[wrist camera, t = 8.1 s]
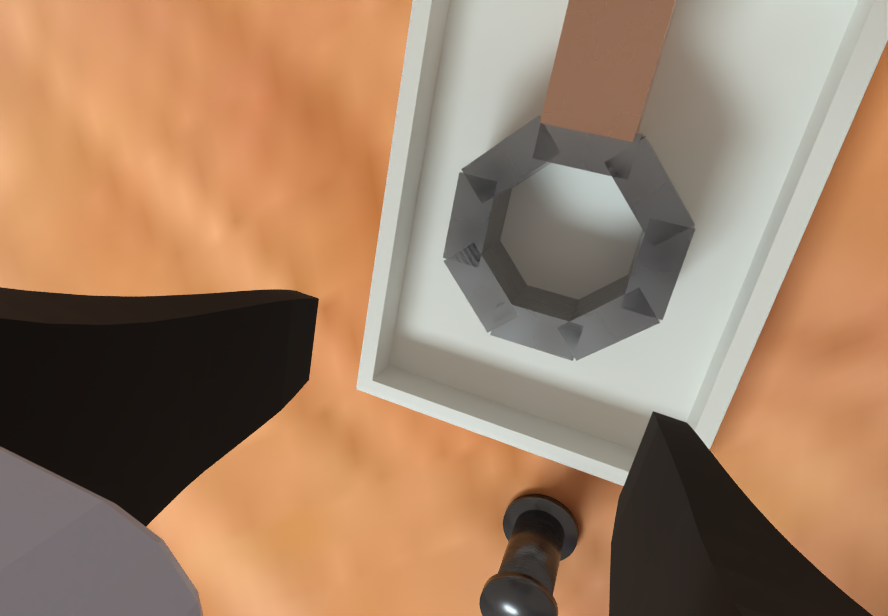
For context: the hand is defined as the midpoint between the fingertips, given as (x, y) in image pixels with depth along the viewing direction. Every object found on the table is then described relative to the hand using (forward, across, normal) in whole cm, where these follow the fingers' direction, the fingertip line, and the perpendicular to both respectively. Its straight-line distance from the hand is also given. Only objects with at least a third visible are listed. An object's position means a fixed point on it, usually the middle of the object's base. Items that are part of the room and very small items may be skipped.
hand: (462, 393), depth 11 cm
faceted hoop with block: (+9, 0, -4) cm, 10 cm away
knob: (+9, -3, +10) cm, 14 cm away
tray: (+9, 0, -3) cm, 10 cm away
